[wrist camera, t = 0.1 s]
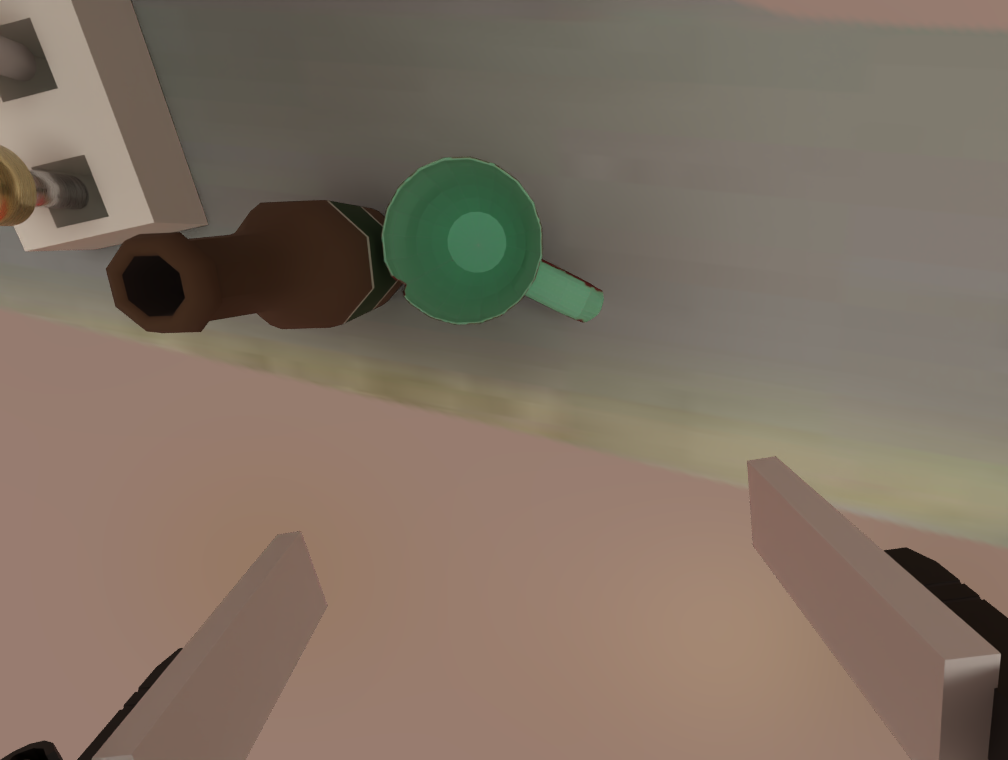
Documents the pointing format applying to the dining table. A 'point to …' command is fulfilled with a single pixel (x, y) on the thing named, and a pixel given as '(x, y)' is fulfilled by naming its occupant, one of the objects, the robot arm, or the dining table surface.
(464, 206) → the mug
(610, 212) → the dining table surface
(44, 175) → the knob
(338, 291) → the beer bottle
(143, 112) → the panel
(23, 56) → the knob mid
